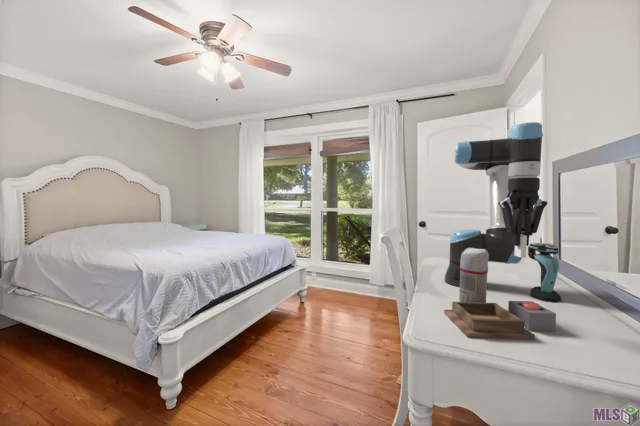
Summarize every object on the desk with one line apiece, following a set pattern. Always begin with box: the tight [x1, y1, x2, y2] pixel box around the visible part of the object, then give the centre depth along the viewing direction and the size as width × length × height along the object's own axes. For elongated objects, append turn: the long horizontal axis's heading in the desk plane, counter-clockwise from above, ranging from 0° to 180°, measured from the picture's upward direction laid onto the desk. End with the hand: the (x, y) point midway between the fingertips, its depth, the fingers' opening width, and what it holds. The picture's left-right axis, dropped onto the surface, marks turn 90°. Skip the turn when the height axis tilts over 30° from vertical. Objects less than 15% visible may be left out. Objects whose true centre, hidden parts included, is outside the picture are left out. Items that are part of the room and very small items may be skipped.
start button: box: [522, 300, 541, 310], centre depth 79 cm, size 4×4×2 cm
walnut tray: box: [443, 301, 536, 340], centre depth 78 cm, size 15×17×4 cm
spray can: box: [458, 248, 489, 303], centre depth 90 cm, size 8×8×20 cm
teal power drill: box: [527, 242, 562, 303], centre depth 101 cm, size 9×12×20 cm
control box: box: [507, 300, 557, 332], centre depth 79 cm, size 9×7×5 cm
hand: (520, 256), depth 81 cm, fingers closed
